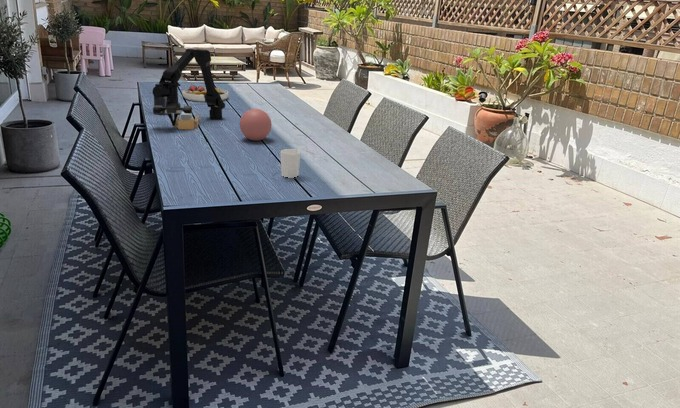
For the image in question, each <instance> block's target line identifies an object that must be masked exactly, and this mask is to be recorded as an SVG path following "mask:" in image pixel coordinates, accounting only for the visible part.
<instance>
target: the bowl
mask: <svg viewBox="0 0 680 408" xmlns="http://www.w3.org/2000/svg"><path fill="white" fill-rule="evenodd" d="M215 89H216V90H217V92H218V93H219V94H220V96H221V99H222V101H223V102H224V101H225V100H227V99H228V98H229V91H228V90H226V89H221V88H218V87H215ZM206 92H207V90H206V87H204V86H203V85H199V86H197V85H196V84H191V85H190V86H189V88H186V89H183V90H182V92H181V94H182V97H183V98H184V99H186V100H189V101H192V102H199V103H206V102H205V98H204V95H206Z"/></svg>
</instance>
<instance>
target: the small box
mask: <svg viewBox="0 0 680 408" xmlns="http://www.w3.org/2000/svg"><path fill="white" fill-rule="evenodd" d="M166 102H167V101H166V97H163V98H155V97H154V96H153V105H154V106H155V105H157V106H162V107H166ZM154 106H153V107H154ZM153 114H154V115H161V116H165V111H161V112H160V113H153Z"/></svg>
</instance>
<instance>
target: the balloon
mask: <svg viewBox="0 0 680 408" xmlns="http://www.w3.org/2000/svg"><path fill="white" fill-rule="evenodd" d="M239 129H240V131H241V133H242V135H243V136H244V137H245V138H246V139H248V140H249V141H250V140H251V141H255V142H256V141H261V140H265V138H267V137H268V136H269V134H270V133H271V130H272V120H271V117H270V115H268V113H267V112H265V110H262V109H259V108H251V109H248V110H247V111H245V112H243V114H242V115H241V117H240V120H239Z"/></svg>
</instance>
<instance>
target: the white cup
mask: <svg viewBox="0 0 680 408" xmlns="http://www.w3.org/2000/svg"><path fill="white" fill-rule="evenodd" d="M301 154H302V153H301V150H298V149H294V148H285V149H281V150H280V169H281V176H282V177H283V176H284V177H283V178H285V177H288V178H287V179H295V178H294V177H296V178H298V177H299V170H300V167H301V166H300V164H301ZM297 176H298V177H297Z"/></svg>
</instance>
